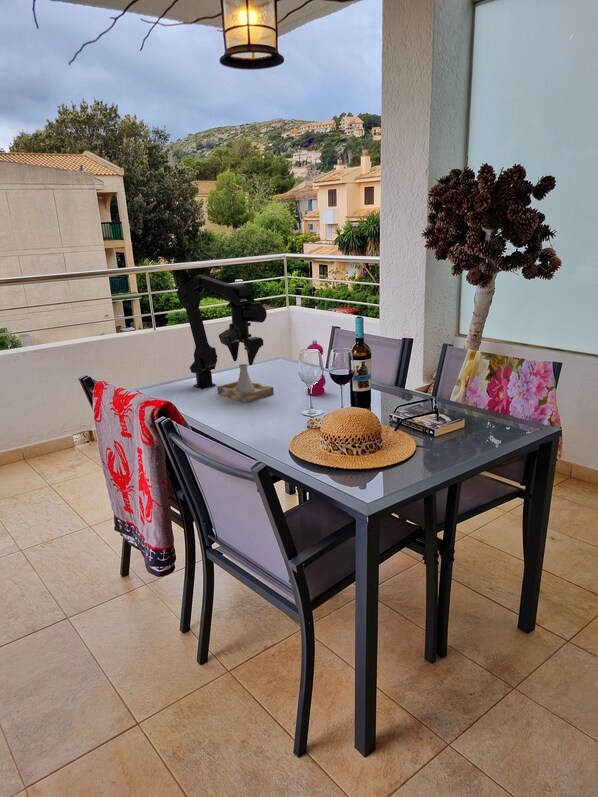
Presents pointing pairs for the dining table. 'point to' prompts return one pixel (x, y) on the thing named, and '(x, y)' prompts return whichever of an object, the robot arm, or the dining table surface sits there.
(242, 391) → the flask
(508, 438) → the dining table surface
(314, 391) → the pepper mill
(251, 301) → the robot arm
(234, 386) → the serving tray
